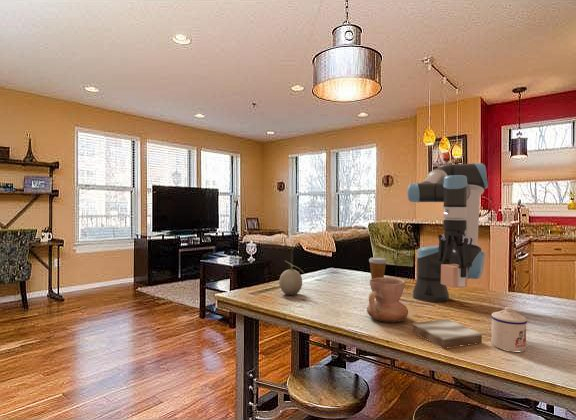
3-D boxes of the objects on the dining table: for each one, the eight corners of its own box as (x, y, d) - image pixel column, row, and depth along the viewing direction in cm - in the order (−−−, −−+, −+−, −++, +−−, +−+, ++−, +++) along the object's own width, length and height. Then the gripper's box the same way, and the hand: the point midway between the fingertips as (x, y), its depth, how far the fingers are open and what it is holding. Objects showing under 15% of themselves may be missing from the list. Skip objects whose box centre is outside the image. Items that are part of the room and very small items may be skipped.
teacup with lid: (522, 356, 98) (523, 314, 98) (486, 346, 104) (487, 307, 104) (531, 344, 107) (532, 305, 106) (497, 336, 113) (498, 299, 113)
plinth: (412, 332, 116) (412, 323, 116) (447, 327, 120) (447, 319, 120) (443, 348, 103) (443, 338, 103) (481, 343, 107) (481, 333, 107)
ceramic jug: (387, 310, 140) (386, 274, 140) (418, 319, 128) (418, 280, 128) (354, 319, 130) (353, 280, 130) (385, 330, 118) (385, 288, 118)
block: (440, 283, 128) (441, 264, 128) (454, 282, 130) (454, 263, 129) (452, 287, 122) (453, 267, 122) (466, 286, 124) (467, 266, 124)
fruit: (301, 298, 157) (301, 264, 157) (276, 296, 160) (276, 263, 160) (306, 292, 167) (306, 261, 167) (283, 290, 170) (283, 259, 170)
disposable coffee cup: (375, 277, 202) (375, 256, 202) (389, 280, 195) (390, 258, 194) (365, 279, 196) (365, 258, 196) (379, 282, 189) (379, 260, 188)
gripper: (427, 218, 133) (427, 279, 134) (467, 220, 115) (466, 291, 116) (444, 217, 135) (443, 277, 136) (485, 220, 117) (484, 289, 118)
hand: (453, 284), depth 126 cm, fingers closed on block, 6 cm apart
